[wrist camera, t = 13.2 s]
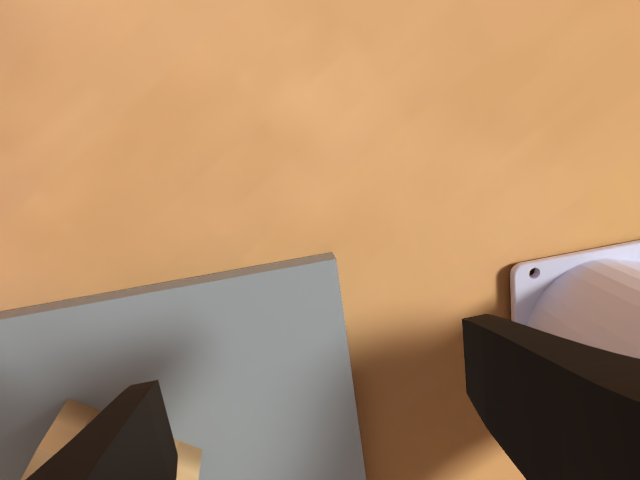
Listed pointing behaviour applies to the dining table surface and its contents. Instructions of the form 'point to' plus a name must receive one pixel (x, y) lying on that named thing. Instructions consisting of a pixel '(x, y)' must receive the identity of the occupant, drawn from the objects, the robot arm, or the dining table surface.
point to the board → (198, 369)
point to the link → (80, 415)
